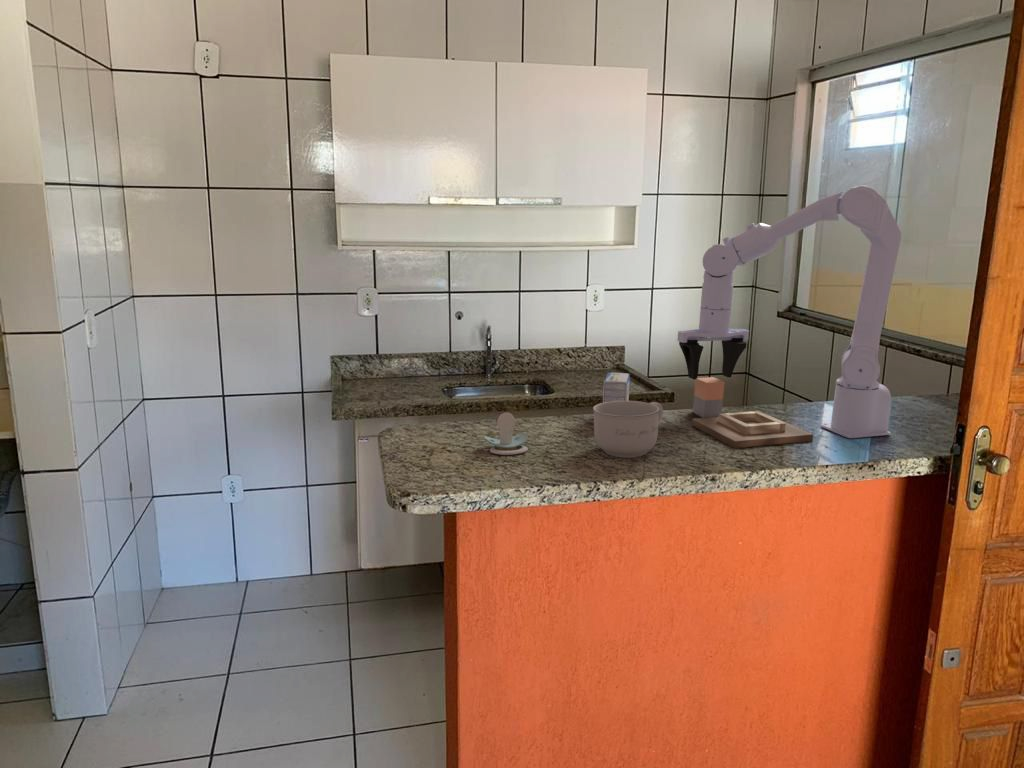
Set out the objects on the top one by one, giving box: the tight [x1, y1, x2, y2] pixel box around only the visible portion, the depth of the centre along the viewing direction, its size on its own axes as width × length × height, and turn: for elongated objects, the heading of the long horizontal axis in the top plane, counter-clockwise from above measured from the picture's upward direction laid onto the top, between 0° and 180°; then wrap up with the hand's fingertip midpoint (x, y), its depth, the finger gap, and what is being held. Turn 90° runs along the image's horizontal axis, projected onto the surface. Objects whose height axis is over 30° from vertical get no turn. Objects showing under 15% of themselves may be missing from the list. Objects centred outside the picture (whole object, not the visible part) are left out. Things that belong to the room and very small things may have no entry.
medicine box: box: [602, 372, 631, 403], centre depth 144 cm, size 8×4×9 cm, turn 168°
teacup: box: [592, 400, 664, 459], centre depth 127 cm, size 14×11×8 cm
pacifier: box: [483, 412, 529, 456], centre depth 126 cm, size 7×6×6 cm
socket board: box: [691, 410, 814, 449], centre depth 139 cm, size 16×14×3 cm
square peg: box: [692, 376, 725, 418], centre depth 150 cm, size 4×4×7 cm
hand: (709, 377), depth 149 cm, fingers open, 7 cm apart
